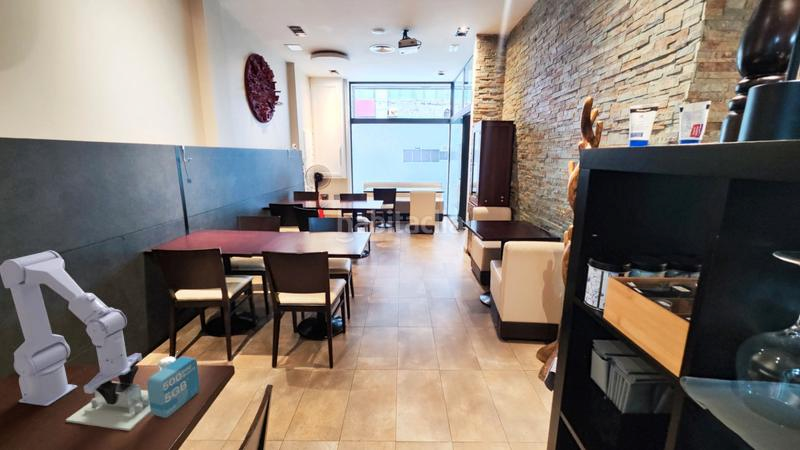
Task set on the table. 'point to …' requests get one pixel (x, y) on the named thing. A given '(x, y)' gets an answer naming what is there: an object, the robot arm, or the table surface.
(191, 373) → the data package
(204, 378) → the table surface
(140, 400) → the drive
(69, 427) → the table surface
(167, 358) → the milkshake
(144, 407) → the dock tray
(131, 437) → the table surface
